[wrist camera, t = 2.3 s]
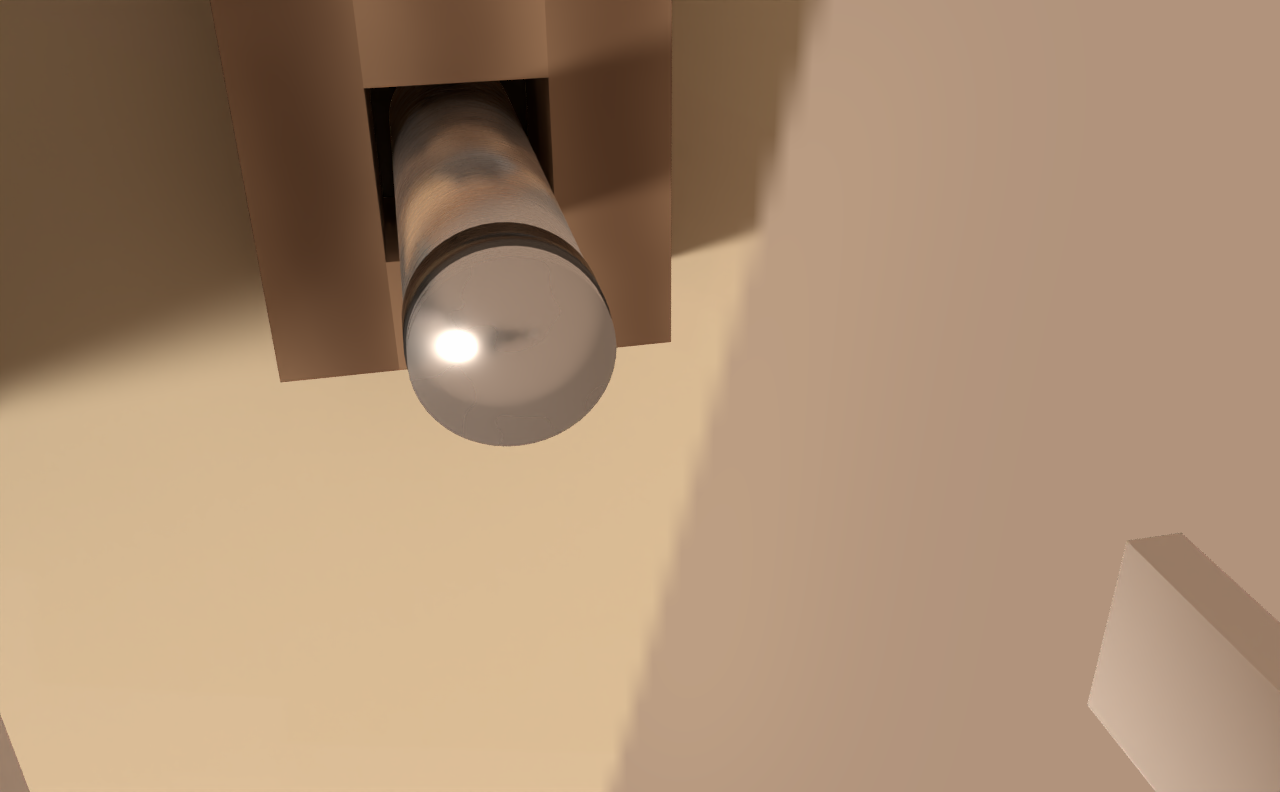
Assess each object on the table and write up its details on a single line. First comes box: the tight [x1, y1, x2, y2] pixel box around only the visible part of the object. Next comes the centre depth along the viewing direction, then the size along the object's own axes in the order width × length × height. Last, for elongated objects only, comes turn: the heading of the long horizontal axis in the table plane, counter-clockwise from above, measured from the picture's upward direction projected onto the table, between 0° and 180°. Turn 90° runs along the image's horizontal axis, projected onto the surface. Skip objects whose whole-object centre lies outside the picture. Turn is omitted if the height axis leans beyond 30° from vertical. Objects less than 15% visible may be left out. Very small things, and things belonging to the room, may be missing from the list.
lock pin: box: [389, 80, 616, 446], centre depth 29 cm, size 4×4×18 cm
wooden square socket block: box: [210, 0, 672, 382], centre depth 34 cm, size 12×12×6 cm
